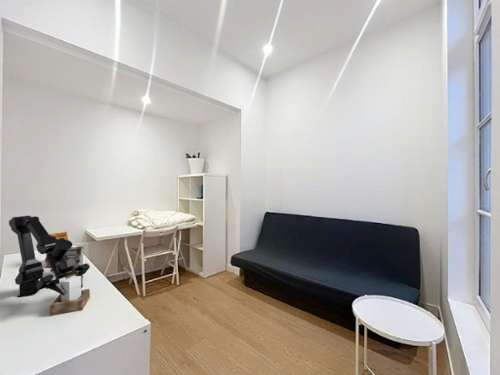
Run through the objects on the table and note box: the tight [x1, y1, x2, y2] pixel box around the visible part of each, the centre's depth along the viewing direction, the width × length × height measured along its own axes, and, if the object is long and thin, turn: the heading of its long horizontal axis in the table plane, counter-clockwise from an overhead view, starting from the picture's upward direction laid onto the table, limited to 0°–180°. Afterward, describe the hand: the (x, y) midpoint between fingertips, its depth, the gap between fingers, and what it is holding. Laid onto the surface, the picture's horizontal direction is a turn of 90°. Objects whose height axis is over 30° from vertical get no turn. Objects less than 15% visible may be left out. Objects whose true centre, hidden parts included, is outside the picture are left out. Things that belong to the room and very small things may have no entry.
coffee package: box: [45, 231, 69, 268], centre depth 150 cm, size 10×12×22 cm
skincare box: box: [60, 276, 82, 302], centre depth 98 cm, size 6×4×12 cm
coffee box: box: [64, 245, 84, 270], centre depth 134 cm, size 9×6×16 cm
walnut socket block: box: [49, 288, 91, 317], centre depth 98 cm, size 11×11×4 cm
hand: (73, 290), depth 98 cm, fingers closed on skincare box, 7 cm apart
